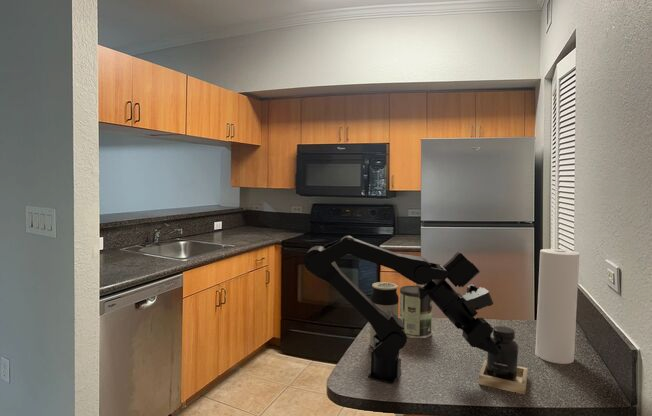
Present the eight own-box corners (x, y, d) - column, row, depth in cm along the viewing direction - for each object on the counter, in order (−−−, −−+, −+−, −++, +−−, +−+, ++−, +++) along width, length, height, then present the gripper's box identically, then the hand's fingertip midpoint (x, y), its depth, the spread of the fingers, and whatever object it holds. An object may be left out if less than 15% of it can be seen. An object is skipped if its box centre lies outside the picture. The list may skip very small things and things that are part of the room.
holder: (478, 384, 99) (479, 375, 98) (484, 367, 107) (484, 359, 107) (525, 394, 94) (525, 385, 94) (527, 376, 103) (527, 368, 102)
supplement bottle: (495, 384, 97) (497, 334, 96) (481, 371, 104) (483, 324, 103) (522, 383, 98) (525, 334, 97) (507, 370, 105) (509, 324, 104)
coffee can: (427, 327, 137) (428, 285, 136) (435, 339, 127) (436, 293, 126) (396, 326, 137) (397, 284, 136) (401, 338, 127) (402, 293, 126)
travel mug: (402, 346, 121) (404, 285, 120) (385, 353, 115) (386, 290, 114) (382, 338, 127) (383, 280, 126) (364, 344, 121) (365, 284, 120)
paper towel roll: (579, 365, 110) (585, 253, 108) (541, 361, 111) (546, 251, 110) (566, 351, 119) (571, 248, 117) (531, 348, 121) (535, 246, 119)
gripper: (486, 287, 90) (534, 339, 90) (460, 269, 109) (500, 312, 109) (448, 321, 91) (495, 372, 91) (429, 297, 109) (468, 339, 110)
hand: (490, 346), depth 100 cm, fingers open, 9 cm apart
